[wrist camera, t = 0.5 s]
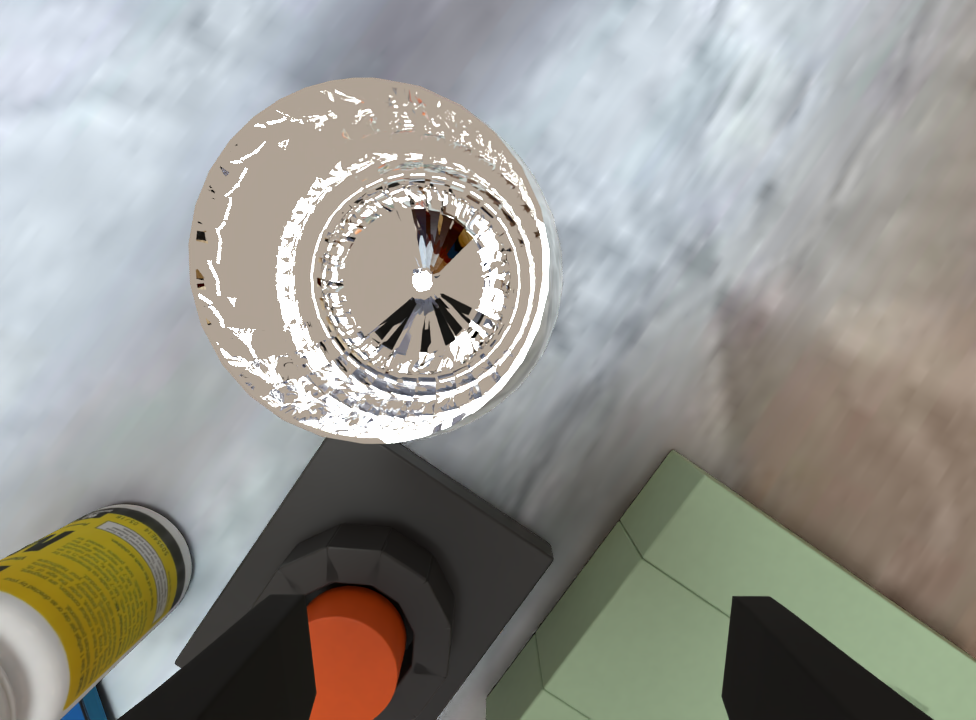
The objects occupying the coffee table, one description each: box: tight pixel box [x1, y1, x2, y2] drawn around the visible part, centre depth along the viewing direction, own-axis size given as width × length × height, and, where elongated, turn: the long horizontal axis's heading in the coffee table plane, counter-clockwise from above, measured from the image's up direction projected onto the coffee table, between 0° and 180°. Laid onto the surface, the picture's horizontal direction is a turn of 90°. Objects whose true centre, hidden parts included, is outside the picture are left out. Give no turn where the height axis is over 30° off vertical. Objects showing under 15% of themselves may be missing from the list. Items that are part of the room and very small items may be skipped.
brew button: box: [307, 586, 406, 720], centre depth 16 cm, size 4×4×2 cm
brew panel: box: [175, 437, 554, 720], centre depth 18 cm, size 11×9×3 cm
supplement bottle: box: [0, 504, 192, 720], centre depth 16 cm, size 5×5×8 cm
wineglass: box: [189, 78, 563, 444], centre depth 13 cm, size 6×6×12 cm
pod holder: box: [486, 450, 976, 720], centre depth 19 cm, size 12×14×3 cm
